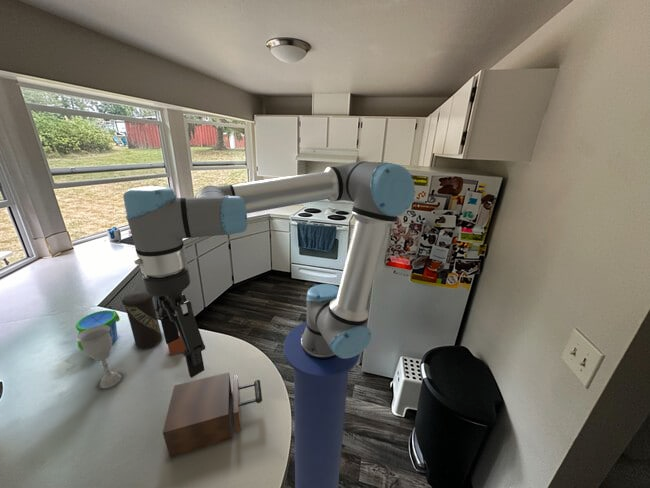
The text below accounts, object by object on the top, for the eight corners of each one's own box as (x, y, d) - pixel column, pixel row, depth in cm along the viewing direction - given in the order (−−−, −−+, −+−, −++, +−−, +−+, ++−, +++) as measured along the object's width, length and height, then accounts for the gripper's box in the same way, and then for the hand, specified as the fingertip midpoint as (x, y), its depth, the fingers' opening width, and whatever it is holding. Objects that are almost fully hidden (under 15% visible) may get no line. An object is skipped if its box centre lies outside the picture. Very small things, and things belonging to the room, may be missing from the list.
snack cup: (99, 359, 83) (90, 335, 79) (68, 357, 83) (58, 333, 80) (134, 328, 98) (128, 306, 94) (108, 327, 98) (101, 305, 94)
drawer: (260, 386, 75) (258, 369, 72) (264, 423, 65) (263, 404, 62) (192, 404, 69) (188, 386, 67) (185, 447, 59) (180, 428, 57)
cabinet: (232, 394, 73) (229, 372, 70) (232, 438, 62) (228, 414, 59) (179, 407, 69) (174, 384, 66) (169, 457, 58) (162, 433, 55)
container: (142, 353, 86) (128, 304, 79) (130, 343, 90) (115, 295, 84) (168, 338, 93) (157, 292, 86) (155, 329, 97) (144, 285, 90)
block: (188, 341, 92) (185, 326, 90) (186, 351, 88) (182, 335, 85) (172, 344, 91) (169, 328, 88) (169, 354, 86) (166, 338, 84)
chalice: (88, 391, 72) (68, 341, 66) (107, 371, 79) (90, 324, 73) (114, 390, 73) (97, 341, 66) (131, 371, 79) (116, 325, 73)
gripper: (125, 256, 53) (147, 336, 60) (166, 303, 37) (189, 403, 45) (164, 247, 58) (180, 322, 66) (215, 285, 43) (228, 377, 50)
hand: (184, 355), depth 55 cm, fingers open, 13 cm apart
